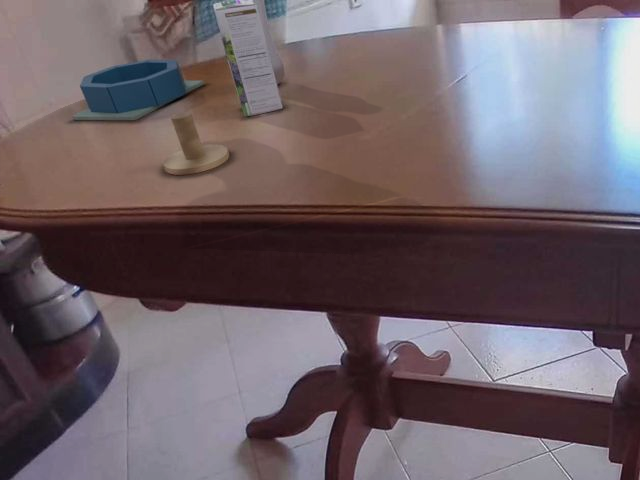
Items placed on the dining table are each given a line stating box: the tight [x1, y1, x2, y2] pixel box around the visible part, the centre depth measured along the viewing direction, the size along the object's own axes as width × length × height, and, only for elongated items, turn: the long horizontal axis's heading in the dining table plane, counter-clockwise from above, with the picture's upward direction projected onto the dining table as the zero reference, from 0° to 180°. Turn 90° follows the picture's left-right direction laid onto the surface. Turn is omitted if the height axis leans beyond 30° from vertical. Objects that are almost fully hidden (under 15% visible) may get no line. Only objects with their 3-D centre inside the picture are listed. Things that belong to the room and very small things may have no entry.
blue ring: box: [79, 58, 187, 113], centre depth 113 cm, size 15×15×4 cm
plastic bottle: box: [222, 0, 285, 85], centre depth 109 cm, size 6×7×20 cm
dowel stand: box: [162, 111, 230, 176], centre depth 87 cm, size 8×8×6 cm
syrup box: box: [212, 0, 284, 117], centre depth 101 cm, size 6×6×14 cm
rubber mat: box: [71, 80, 205, 121], centre depth 115 cm, size 18×12×1 cm, turn 163°
